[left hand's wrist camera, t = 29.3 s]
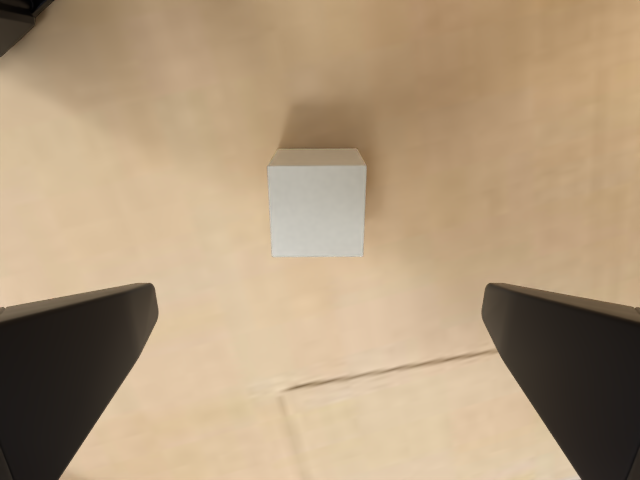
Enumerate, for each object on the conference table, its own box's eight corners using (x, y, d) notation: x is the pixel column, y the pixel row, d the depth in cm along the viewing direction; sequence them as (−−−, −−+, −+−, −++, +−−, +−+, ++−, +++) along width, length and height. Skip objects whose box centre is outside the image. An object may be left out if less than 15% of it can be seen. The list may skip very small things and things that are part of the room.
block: (280, 224, 23) (271, 257, 19) (277, 148, 21) (266, 165, 17) (355, 223, 23) (363, 257, 19) (357, 148, 21) (366, 165, 17)
